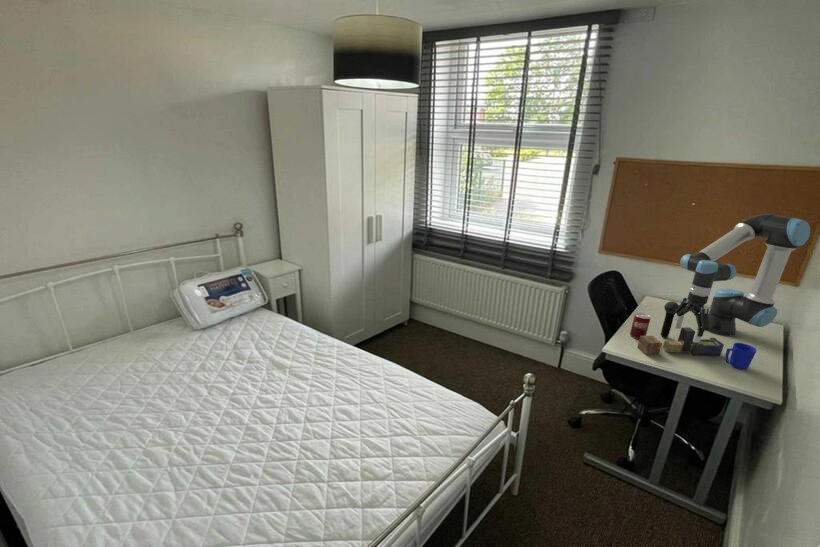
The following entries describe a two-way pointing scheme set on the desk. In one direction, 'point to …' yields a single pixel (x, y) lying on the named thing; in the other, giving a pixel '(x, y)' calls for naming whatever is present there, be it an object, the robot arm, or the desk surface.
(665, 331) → the microphone
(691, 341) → the hammer
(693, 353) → the sleeve
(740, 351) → the mug
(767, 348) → the desk surface
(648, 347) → the socket
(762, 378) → the desk surface
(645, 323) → the soda can
